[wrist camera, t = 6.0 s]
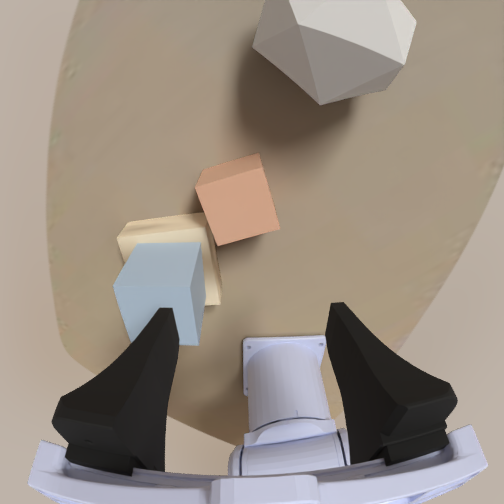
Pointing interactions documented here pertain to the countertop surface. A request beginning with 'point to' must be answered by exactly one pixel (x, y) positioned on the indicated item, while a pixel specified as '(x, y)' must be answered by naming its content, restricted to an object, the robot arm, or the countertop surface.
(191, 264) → the blue block
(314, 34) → the die
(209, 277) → the beech base
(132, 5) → the countertop surface
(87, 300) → the countertop surface
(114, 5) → the countertop surface
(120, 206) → the countertop surface
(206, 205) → the terracotta block
